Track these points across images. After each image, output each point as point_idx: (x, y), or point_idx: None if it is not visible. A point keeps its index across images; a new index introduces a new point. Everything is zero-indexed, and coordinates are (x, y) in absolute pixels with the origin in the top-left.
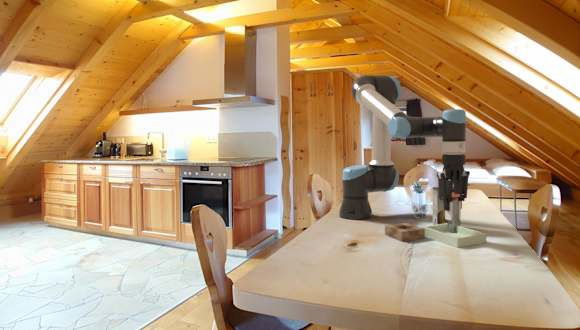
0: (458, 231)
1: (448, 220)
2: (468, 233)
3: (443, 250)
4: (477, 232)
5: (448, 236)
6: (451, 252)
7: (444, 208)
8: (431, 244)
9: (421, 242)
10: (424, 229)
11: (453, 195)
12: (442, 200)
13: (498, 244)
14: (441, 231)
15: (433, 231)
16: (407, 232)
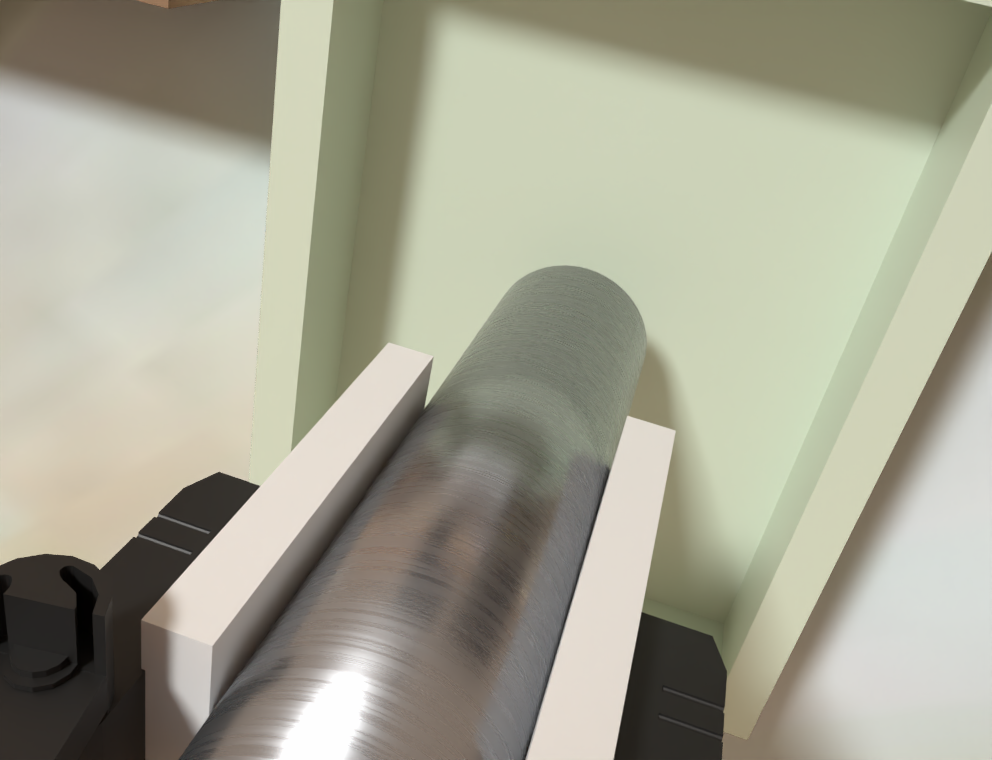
0: (882, 282)
1: (437, 390)
2: (800, 477)
3: (104, 436)
4: (741, 643)
5: (256, 432)
6: (128, 512)
7: (173, 511)
8: (137, 240)
9: (83, 100)
10: (170, 5)
11: None
12: (28, 584)
13: (781, 751)
14: None
15: (279, 144)
16: None
